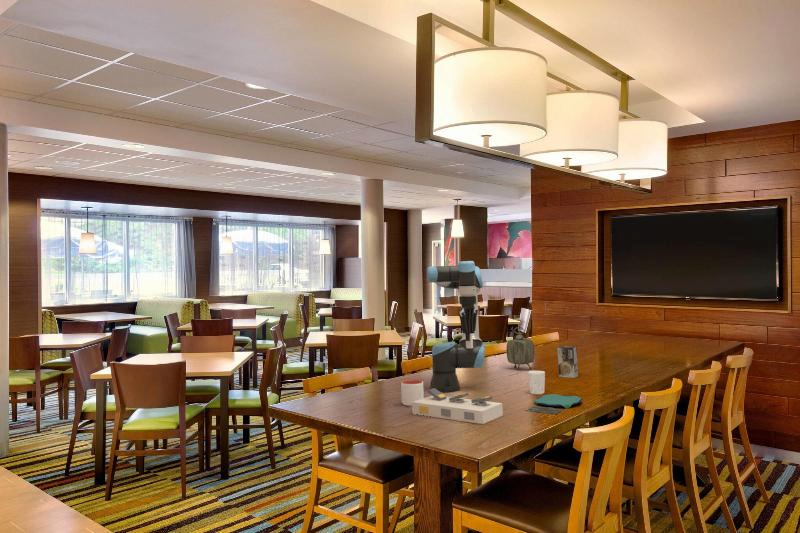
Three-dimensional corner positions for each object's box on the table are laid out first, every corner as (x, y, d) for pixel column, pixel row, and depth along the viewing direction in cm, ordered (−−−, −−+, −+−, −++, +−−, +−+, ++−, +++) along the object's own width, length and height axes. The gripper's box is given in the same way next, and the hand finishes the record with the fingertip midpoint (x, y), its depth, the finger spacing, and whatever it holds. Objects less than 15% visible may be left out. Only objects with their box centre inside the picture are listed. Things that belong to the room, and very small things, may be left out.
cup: (408, 407, 268) (407, 385, 268) (398, 403, 277) (397, 381, 277) (428, 404, 273) (427, 382, 273) (417, 401, 282) (416, 379, 282)
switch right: (471, 403, 247) (471, 399, 247) (477, 400, 251) (477, 397, 251) (486, 401, 243) (485, 397, 243) (492, 399, 247) (491, 395, 247)
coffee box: (578, 376, 329) (577, 346, 329) (575, 378, 324) (573, 347, 324) (561, 375, 334) (560, 345, 334) (558, 377, 329) (557, 347, 329)
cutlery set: (588, 401, 268) (588, 396, 268) (561, 417, 245) (561, 411, 245) (546, 397, 280) (546, 392, 280) (516, 412, 257) (516, 406, 257)
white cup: (546, 394, 285) (545, 373, 285) (528, 394, 286) (528, 373, 286) (545, 391, 293) (544, 370, 293) (528, 391, 294) (527, 370, 294)
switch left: (427, 392, 261) (428, 389, 261) (433, 390, 265) (434, 387, 264) (439, 400, 257) (440, 398, 257) (446, 398, 261) (447, 396, 260)
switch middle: (449, 401, 254) (448, 398, 254) (455, 399, 258) (454, 396, 258) (462, 397, 250) (461, 394, 250) (469, 395, 254) (468, 392, 254)
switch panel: (412, 414, 256) (411, 400, 256) (434, 406, 269) (433, 393, 269) (482, 424, 235) (481, 409, 235) (502, 415, 248) (502, 401, 248)
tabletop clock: (535, 369, 355) (533, 326, 355) (527, 372, 348) (525, 328, 348) (514, 367, 365) (512, 325, 365) (505, 369, 358) (504, 327, 358)
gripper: (466, 296, 265) (468, 350, 266) (482, 294, 275) (484, 346, 276) (452, 296, 270) (454, 349, 270) (468, 294, 280) (470, 345, 280)
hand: (469, 347), depth 273 cm, fingers closed
